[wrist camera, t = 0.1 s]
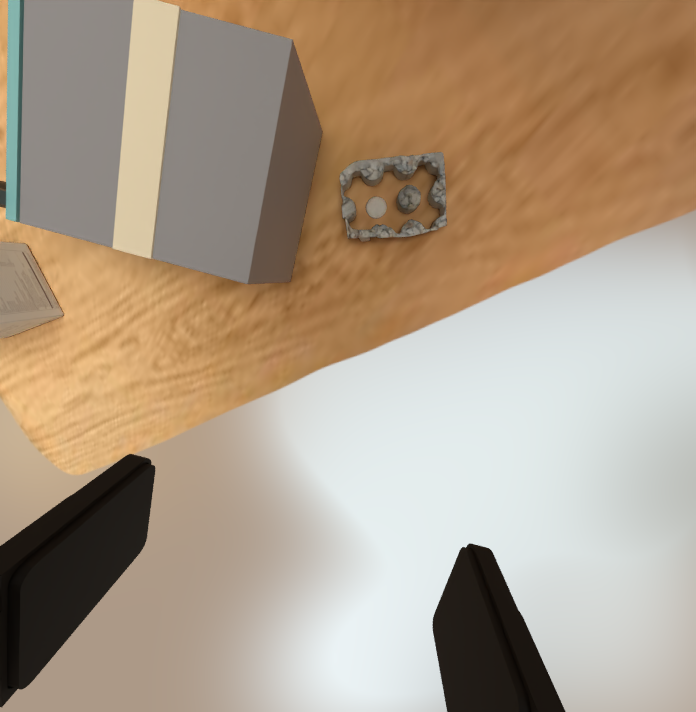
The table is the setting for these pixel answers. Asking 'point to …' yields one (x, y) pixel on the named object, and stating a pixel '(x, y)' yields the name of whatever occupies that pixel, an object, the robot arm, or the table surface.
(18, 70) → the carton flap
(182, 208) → the carton
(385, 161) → the egg carton
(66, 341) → the table surface
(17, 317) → the supplement box
